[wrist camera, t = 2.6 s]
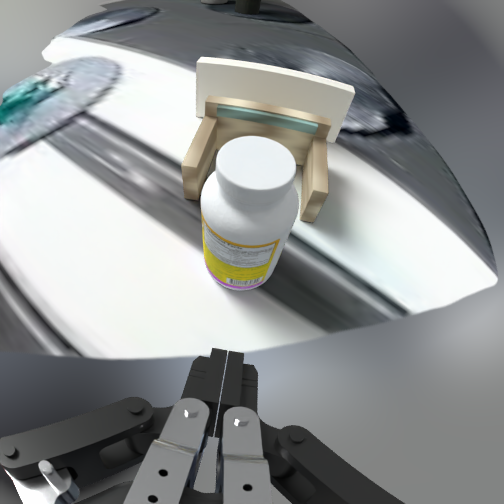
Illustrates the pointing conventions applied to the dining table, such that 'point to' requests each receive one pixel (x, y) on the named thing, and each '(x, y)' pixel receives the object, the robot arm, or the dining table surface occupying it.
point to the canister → (214, 1)
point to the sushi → (247, 6)
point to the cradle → (268, 126)
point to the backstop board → (273, 89)
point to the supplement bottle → (248, 211)
